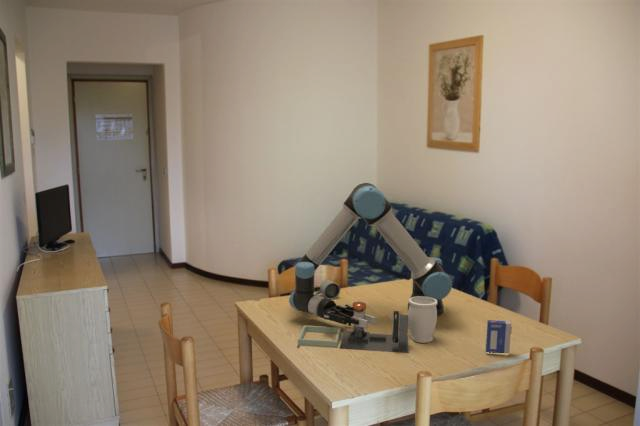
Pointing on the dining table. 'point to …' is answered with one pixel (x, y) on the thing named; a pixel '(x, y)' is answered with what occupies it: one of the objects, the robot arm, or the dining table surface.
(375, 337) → the pulley plate
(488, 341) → the walkman
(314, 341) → the tray
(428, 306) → the jar
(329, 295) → the ceramic mug
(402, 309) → the dining table surface
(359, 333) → the copper-capped metal cylinder
